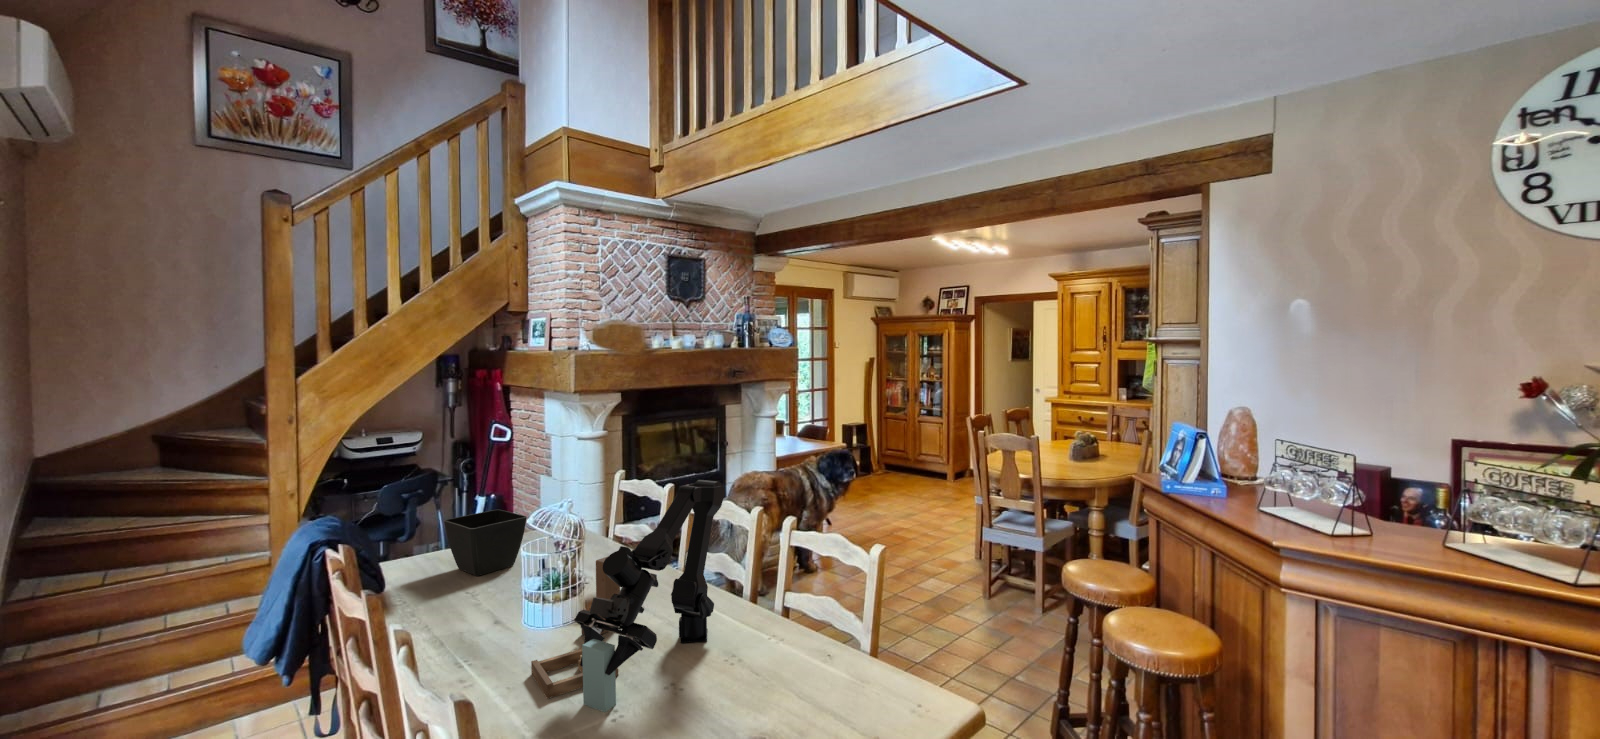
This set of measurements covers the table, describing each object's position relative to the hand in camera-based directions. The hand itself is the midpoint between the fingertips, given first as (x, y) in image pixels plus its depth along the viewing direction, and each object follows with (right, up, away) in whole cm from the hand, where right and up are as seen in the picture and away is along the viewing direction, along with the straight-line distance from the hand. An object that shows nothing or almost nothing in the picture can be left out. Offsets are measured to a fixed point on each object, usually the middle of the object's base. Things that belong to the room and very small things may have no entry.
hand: (594, 670), depth 125 cm
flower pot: (-63, -6, +82) cm, 104 cm away
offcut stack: (-5, -8, +15) cm, 18 cm away
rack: (-9, -7, +13) cm, 17 cm away
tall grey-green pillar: (+1, -8, +1) cm, 8 cm away
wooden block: (-10, -7, +35) cm, 37 cm away
